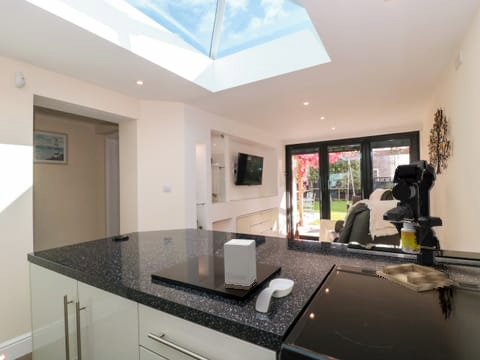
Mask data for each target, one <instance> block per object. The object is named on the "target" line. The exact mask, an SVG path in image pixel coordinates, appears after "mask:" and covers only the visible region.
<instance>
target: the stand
mask: <svg viewBox="0 0 480 360" xmlns="http://www.w3.org/2000/svg"><path fill="white" fill-rule="evenodd" d="M375 273H376V274H377V275H376V276H378V275H379V276H378V277H380V276H382V277H381V278H383V277H384V278H383V279H385V278H386V279H385V280H387V279H388V281H390V280H391V281H390V282H392V281H393V282H392V283H395V284H397V283H398V284H397V285H399V284H400V286H402V285H403V286H402V287H404V286H405V287H404V288H407V289H410V290H412V291H414V292H422V291H428V290H433V288H435V289H439V288H438V287H441V288H445V287H444V286H447V287H451V286H450V285H453V286H454V280H452V279H449V278H446V275H445V272H441V271H438V270H435V269H433V268H428V267H427V266H424V265H421V264H417V263H414V262H413V263H412V262H411V263H402V264H396V265H395V264H394V265H387V266H382V269H381V270H376V271H375Z"/></svg>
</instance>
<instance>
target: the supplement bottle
mask: <svg viewBox="0 0 480 360" xmlns="http://www.w3.org/2000/svg"><path fill="white" fill-rule="evenodd" d="M414 225H417V222H410V221H405V223H404V225H403V226H404V228H402V229H401V238H400V240H401V251H403V252H405V253H408V254H417V253H420V245H417V242H416V230H415V228H414V227H413V226H414Z"/></svg>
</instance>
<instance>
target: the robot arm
mask: <svg viewBox="0 0 480 360" xmlns="http://www.w3.org/2000/svg"><path fill="white" fill-rule="evenodd" d="M435 181H437V172H436V169H435V167H434V166H432V164H431V165H430V164H429V163H428V160H426V159H419V160H413V161H411V162H410V163H409V164H399V165H397V167H396V168H395V170H394V173H393V180H392V184H395V185H394V186H393V188H392V189H391V196H392V197H393V198H394V199H395V200H397V203H396V206H395V207H392V208H391V209H389V210H387V211H386V212H384V214H382V220H383V221H388V222H389V223H390V224H392V225H393V226H394V227H395V229H396V231H397V233H398V236H399V238H400V239H401V229H402V228H404V226H403V225H404V223H405V222H411V223H417V225H414V226H413V227H414V228H415V230H416V242H417V245H420V253H416V260H413V263H414V264H417V265H421V266H424V267H434V266H440V263H439V262H436V260H437V259H436V252H441V243H440V240H439V239H438V236H437V235H436V234H437V233H436V231H435V230H434V228H435V227H443V220H442V218H441V217H440V216H431V190H432V189H433V188H434V186H435V183H436V182H435Z"/></svg>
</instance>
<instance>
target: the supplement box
mask: <svg viewBox="0 0 480 360" xmlns="http://www.w3.org/2000/svg"><path fill="white" fill-rule="evenodd" d="M256 255H257V252H256V240H255V239H238V238H237V239H236V238H232V239H230V240H229V241H227V242H225V243H224V244H223V256H224V257H223V261H224V263H223V264H224V284H225V283H226V284H234V285H242V286H250V285H251V284H252V283H253V282H254V280H255V279H256V280H257V259H256V258H257V257H256Z"/></svg>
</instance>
